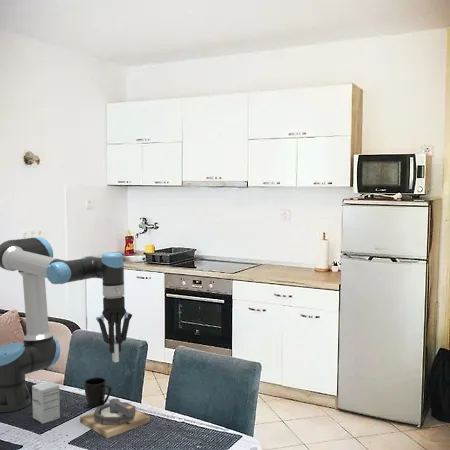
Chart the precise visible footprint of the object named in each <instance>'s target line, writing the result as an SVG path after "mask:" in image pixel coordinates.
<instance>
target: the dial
mask: <svg viewBox="0 0 450 450" xmlns="http://www.w3.org/2000/svg"><path fill="white" fill-rule="evenodd" d="M122 402H123V401H120V398H112V399H110V400H109V403H110V407H107V408H105V409H103V410H102V411H101V415H102V416H104V417H119V416H122V415H125V416H127V417H131V416H133V407H132V406H128V405H126V404H124V403H122Z"/></svg>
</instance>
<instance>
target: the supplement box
mask: <svg viewBox="0 0 450 450" xmlns="http://www.w3.org/2000/svg"><path fill="white" fill-rule="evenodd" d="M31 393H32V395H31V403H32V418H33V419H34V420H35V421H38V422H39V423H40V424H42V425H43V424H46V423H50V422H53V421H55V420H59V419H60V418H61V409H60V408H61V407H60V405H61V404H60V385H58V384H56V383H55V382H52V381H51V380H45V381H44V382H41V383H40V382H39V383H37V384H34V385H31Z"/></svg>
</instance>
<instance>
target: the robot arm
mask: <svg viewBox="0 0 450 450" xmlns="http://www.w3.org/2000/svg"><path fill="white" fill-rule="evenodd" d="M124 266H125V263H124V256H123V254H122V253H121V252H105V253H103V254H102V255H101V257H99V256H98V257H96V256H93V255H92V256H91V255H90V256H83V257H82V258H78V259H71V260H65V259H59V258H57V257H54V251H53V247H52V246H51V243H50V242H49V241H48V240H47V239H46V238H44V237H28V238H20V239H19V238H18V239H9V240H5V241H4V242H2V243H0V268H1V269H3V270H6V271H8V272H9V271H10V272H15V271H17V272H18V273H19V274H20V275H21V276H22V287H23V300H24V312H25V326H26V335H24V337H23V342H20V341H19V342H17V341H16V342H15V341H14V342H9V343H5V344H2V345H0V413H9V412H15V411H19V410H22V409H24V408H26V407H29V406H30V404H31V403H32V395H31V394H30V391H29V388H28V386H27V383H26V375H27V374H31V373H34V372H37V371H40V370H42V369H43V370H45V369H48V368H49V367H52V366H54V365H56V363H57V362H58V360H59V358H60V355H61V346H60V343H59V340H58V339H57V338H55V337H54V334H53V333H52V332H50V329H49V327H50V326H49V317H48V316H49V315H48V303H47V301H48V300H47V287H46V279H47V280H48V281H49V282H50V283H51V284H52V285H63V284H68V283H72V282H77V281H83V280H89V279H101V280H102V296H103V298H102V308H103V310H102V311H101V315H99V316H97V317H96V318H95V319H96V321H97V322H98V324H99V328H100V332H101V335H102V338H103V339H102V340H103V342H104V343H106V344H107V345H109V347H108V348H109V353H110V354H111V357H112V360H111V361H112V362H113V363H118V362H120V357H119V356H120V353H121V351H122V343H123V342H124V341H125V342H126V339H127V336H128V330H129V326H130V321H131V320H132V317H133V314H132V313H130V312H128V311H127V309H126V307H125V306H126V305H125V296H124V295H125V277H124V276H125V274H124V273H125V271H124V270H125V267H124ZM105 320H106V321H107V326H108V327H106V324H105ZM122 320H123V322H122ZM107 328H108V331H107Z"/></svg>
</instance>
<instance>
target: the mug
mask: <svg viewBox="0 0 450 450" xmlns="http://www.w3.org/2000/svg"><path fill="white" fill-rule="evenodd" d="M107 389H108V392H107ZM112 390H113V389H112V386H111V385H110V384H107V379H106V378H103V377H92V378H88V379H86V380H85V381H84V395H85V398H86V399H85V400H86V401H87V404H88V407H90V408H97V407H99V406H102V405H105V404H107V402H108V400H109V397H110V396H111V394H112ZM106 393H107V395H106Z"/></svg>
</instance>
